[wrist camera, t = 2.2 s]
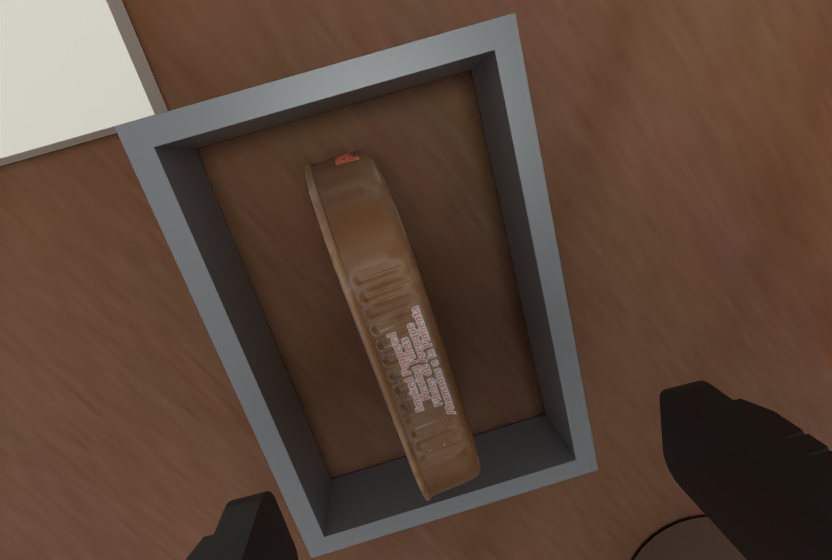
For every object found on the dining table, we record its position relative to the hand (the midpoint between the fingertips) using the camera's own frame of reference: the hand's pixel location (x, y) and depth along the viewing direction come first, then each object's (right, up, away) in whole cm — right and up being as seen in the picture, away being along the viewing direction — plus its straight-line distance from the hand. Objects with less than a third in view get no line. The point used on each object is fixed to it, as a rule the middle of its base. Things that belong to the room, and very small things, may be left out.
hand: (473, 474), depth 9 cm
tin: (-2, +3, +14) cm, 15 cm away
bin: (-2, +3, +14) cm, 14 cm away
